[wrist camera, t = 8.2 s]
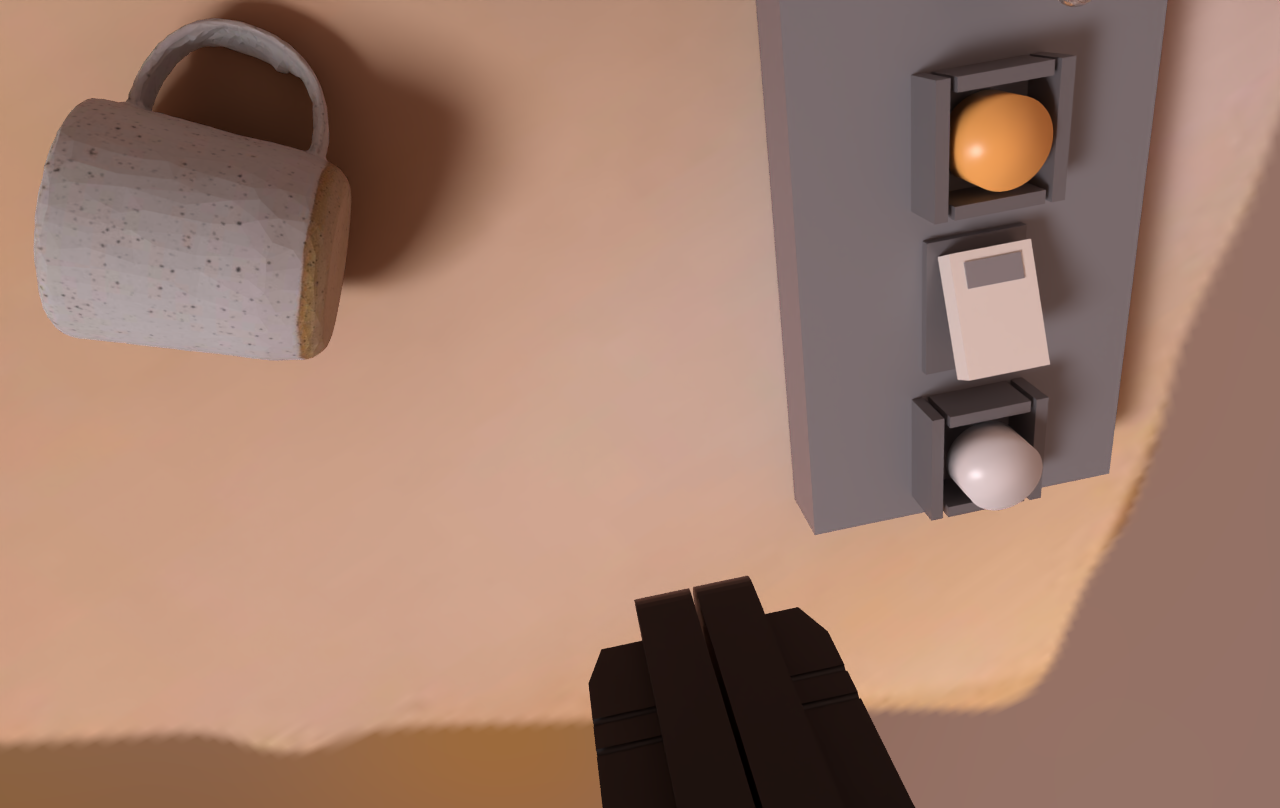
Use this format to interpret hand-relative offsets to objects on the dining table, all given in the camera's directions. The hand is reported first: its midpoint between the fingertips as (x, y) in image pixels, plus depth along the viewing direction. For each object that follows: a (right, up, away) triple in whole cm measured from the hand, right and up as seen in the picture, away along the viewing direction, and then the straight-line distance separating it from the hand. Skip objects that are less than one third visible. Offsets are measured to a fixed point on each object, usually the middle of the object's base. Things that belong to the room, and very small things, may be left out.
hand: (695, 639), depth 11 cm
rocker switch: (+13, +7, +22) cm, 26 cm away
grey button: (+14, +1, +25) cm, 28 cm away
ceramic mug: (-16, +11, +20) cm, 28 cm away
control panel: (+12, +12, +24) cm, 29 cm away
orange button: (+12, +13, +20) cm, 26 cm away
